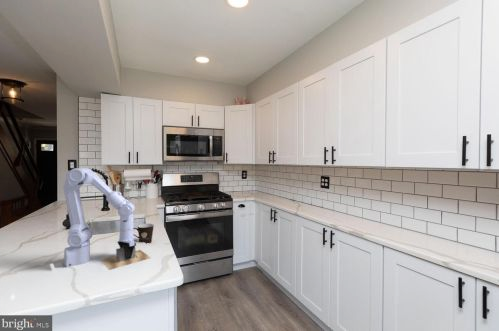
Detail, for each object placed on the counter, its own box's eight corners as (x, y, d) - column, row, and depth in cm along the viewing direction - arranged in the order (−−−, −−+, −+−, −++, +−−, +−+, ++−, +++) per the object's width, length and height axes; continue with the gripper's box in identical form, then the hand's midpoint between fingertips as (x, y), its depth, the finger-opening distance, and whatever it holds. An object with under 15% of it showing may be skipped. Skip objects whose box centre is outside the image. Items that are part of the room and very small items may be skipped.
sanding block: (119, 262, 107) (119, 251, 107) (116, 259, 110) (116, 249, 110) (135, 258, 112) (135, 247, 112) (132, 255, 115) (132, 245, 115)
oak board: (109, 272, 100) (109, 269, 100) (100, 262, 110) (100, 259, 110) (151, 260, 113) (151, 257, 113) (140, 252, 122) (140, 249, 122)
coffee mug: (156, 240, 140) (156, 224, 140) (146, 245, 132) (146, 228, 131) (140, 238, 143) (140, 222, 143) (129, 243, 135) (129, 226, 135)
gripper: (141, 230, 109) (141, 259, 109) (130, 224, 119) (130, 250, 119) (124, 233, 104) (124, 263, 104) (114, 226, 114) (114, 254, 114)
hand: (126, 257), depth 111 cm, fingers closed on sanding block, 4 cm apart
